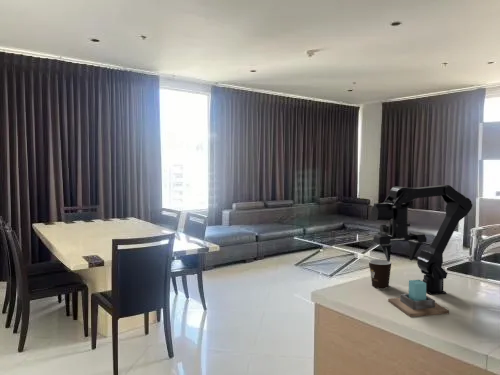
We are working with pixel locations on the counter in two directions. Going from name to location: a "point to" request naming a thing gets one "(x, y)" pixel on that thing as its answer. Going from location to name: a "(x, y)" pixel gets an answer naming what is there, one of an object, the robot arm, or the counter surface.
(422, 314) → the well block
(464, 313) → the counter surface
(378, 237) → the robot arm
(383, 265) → the coffee mug
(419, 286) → the teal post
